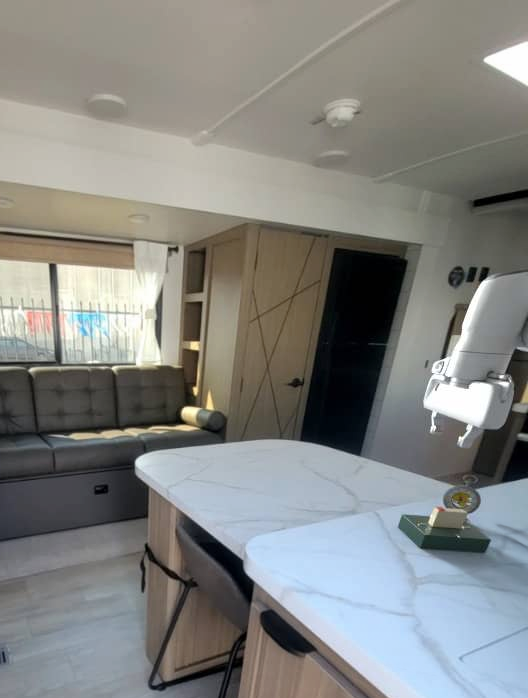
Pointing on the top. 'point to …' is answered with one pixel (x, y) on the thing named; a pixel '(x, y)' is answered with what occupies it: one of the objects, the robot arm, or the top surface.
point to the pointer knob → (447, 517)
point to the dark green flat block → (443, 535)
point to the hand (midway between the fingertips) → (448, 440)
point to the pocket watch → (463, 497)
